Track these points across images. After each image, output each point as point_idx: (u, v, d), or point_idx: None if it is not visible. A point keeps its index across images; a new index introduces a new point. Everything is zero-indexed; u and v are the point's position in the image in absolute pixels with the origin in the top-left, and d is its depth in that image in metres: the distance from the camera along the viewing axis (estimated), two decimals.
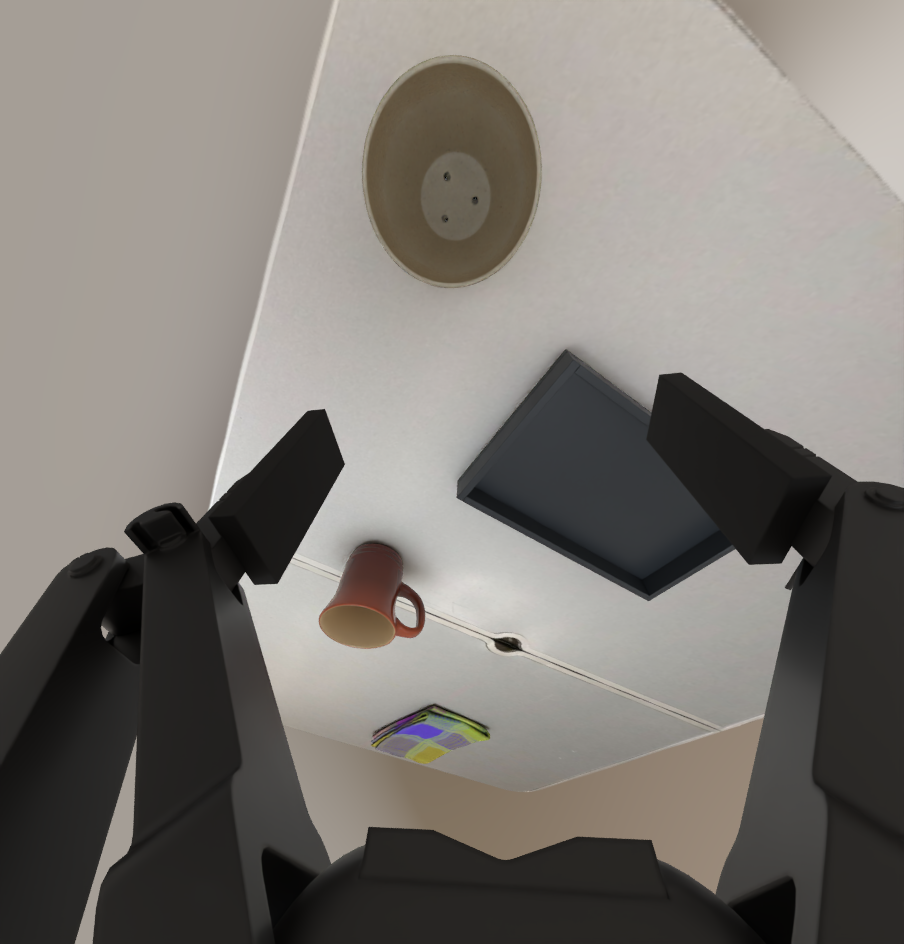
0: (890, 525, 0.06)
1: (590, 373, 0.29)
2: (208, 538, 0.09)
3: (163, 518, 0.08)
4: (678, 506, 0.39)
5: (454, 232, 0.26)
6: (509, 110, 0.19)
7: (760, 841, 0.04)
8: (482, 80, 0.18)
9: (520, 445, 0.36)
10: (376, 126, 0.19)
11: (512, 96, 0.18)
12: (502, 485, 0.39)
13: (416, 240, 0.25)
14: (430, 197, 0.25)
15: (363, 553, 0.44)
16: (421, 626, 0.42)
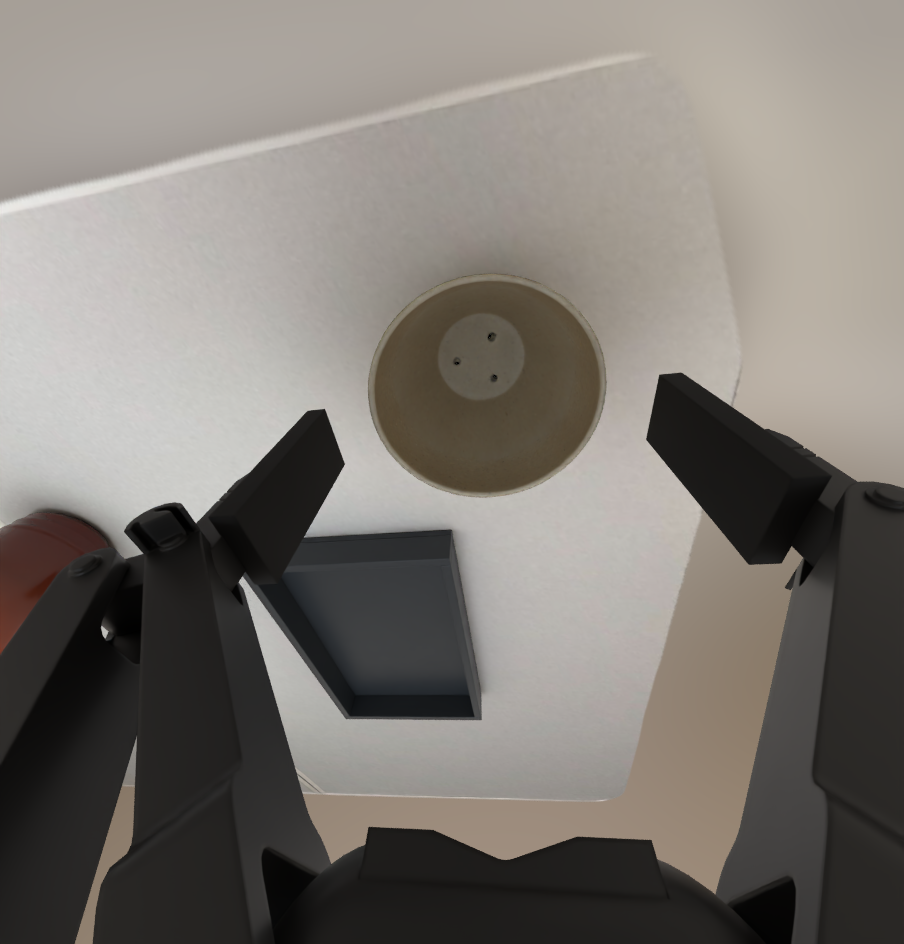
0: (890, 525, 0.06)
1: (451, 575, 0.28)
2: (208, 538, 0.09)
3: (163, 518, 0.08)
4: (426, 669, 0.42)
5: (453, 379, 0.21)
6: (582, 400, 0.16)
7: (760, 841, 0.04)
8: (590, 364, 0.15)
9: None
10: (474, 282, 0.13)
11: (595, 409, 0.15)
12: (300, 575, 0.33)
13: (413, 363, 0.18)
14: (462, 333, 0.20)
15: (49, 533, 0.28)
16: None
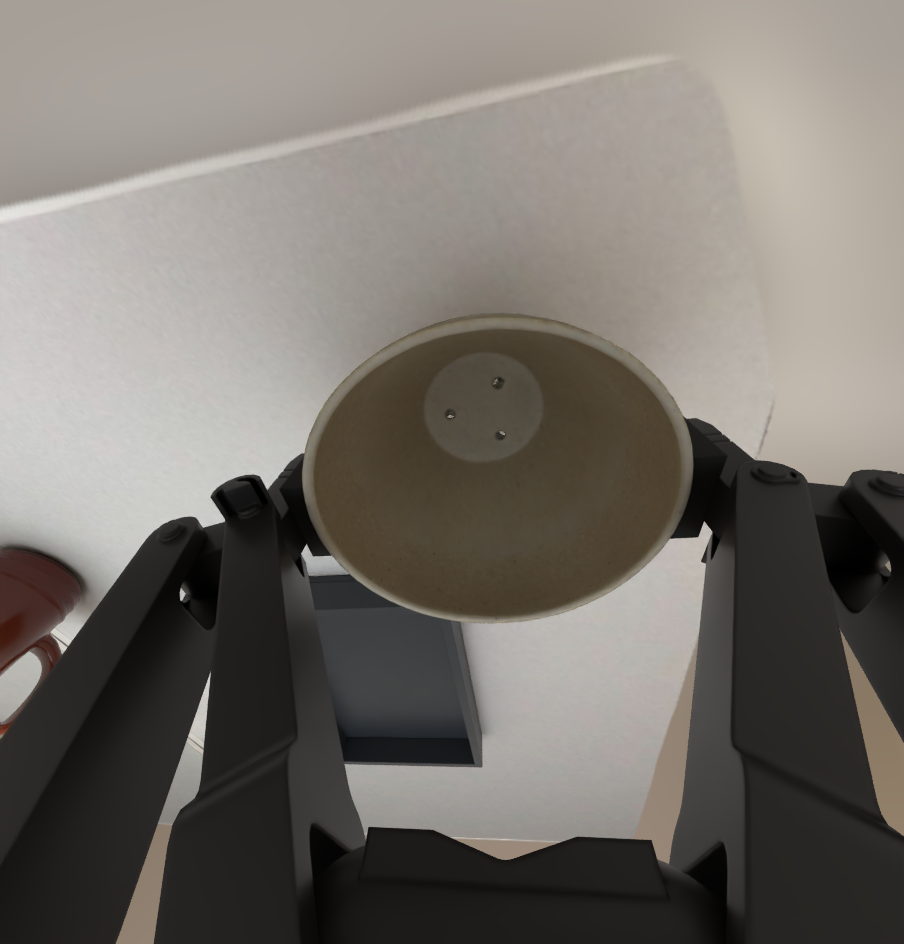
0: (772, 497, 0.07)
1: (449, 622, 0.25)
2: (276, 509, 0.10)
3: (243, 488, 0.09)
4: (422, 712, 0.39)
5: (445, 436, 0.16)
6: (639, 494, 0.11)
7: (698, 809, 0.05)
8: (660, 452, 0.09)
9: None
10: (474, 330, 0.07)
11: (666, 519, 0.09)
12: None
13: (386, 425, 0.13)
14: (457, 379, 0.14)
15: (9, 574, 0.26)
16: None
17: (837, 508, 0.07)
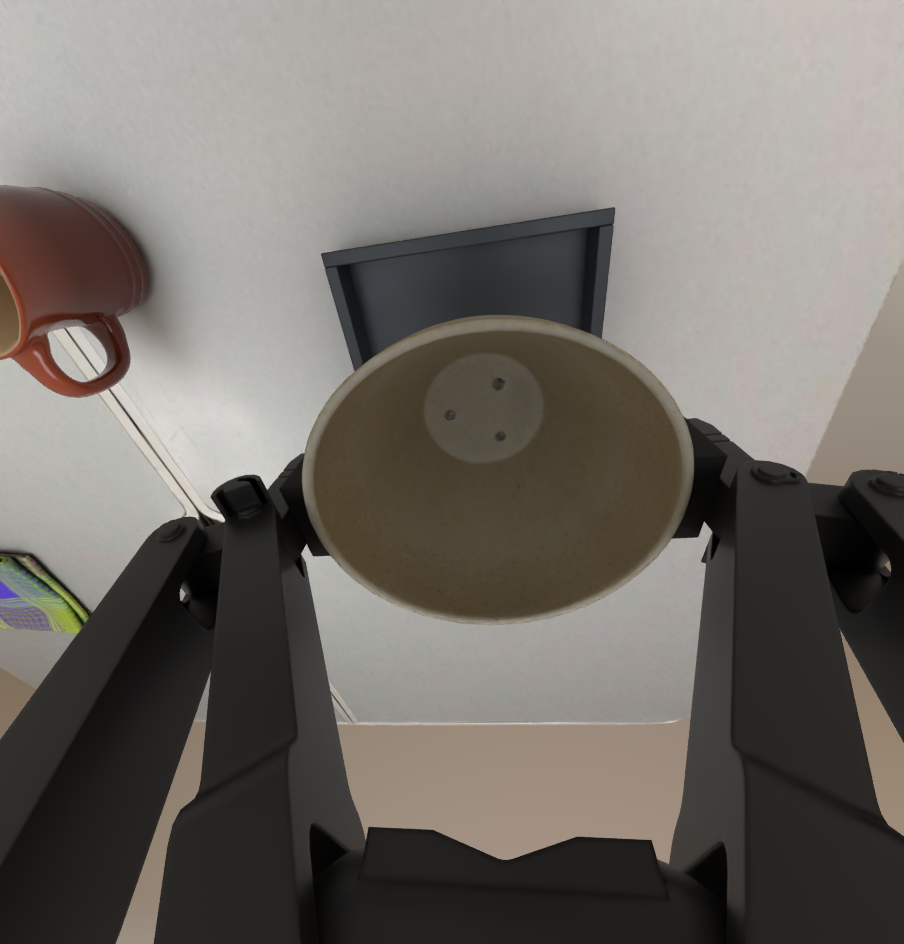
0: (772, 497, 0.07)
1: (609, 248, 0.21)
2: (277, 510, 0.10)
3: (243, 488, 0.09)
4: None
5: (445, 436, 0.16)
6: (639, 496, 0.11)
7: (698, 809, 0.05)
8: (661, 453, 0.09)
9: (453, 279, 0.24)
10: (475, 332, 0.07)
11: (667, 521, 0.09)
12: (387, 313, 0.26)
13: (386, 425, 0.13)
14: (457, 380, 0.14)
15: (74, 202, 0.21)
16: (89, 388, 0.22)
17: (836, 508, 0.07)
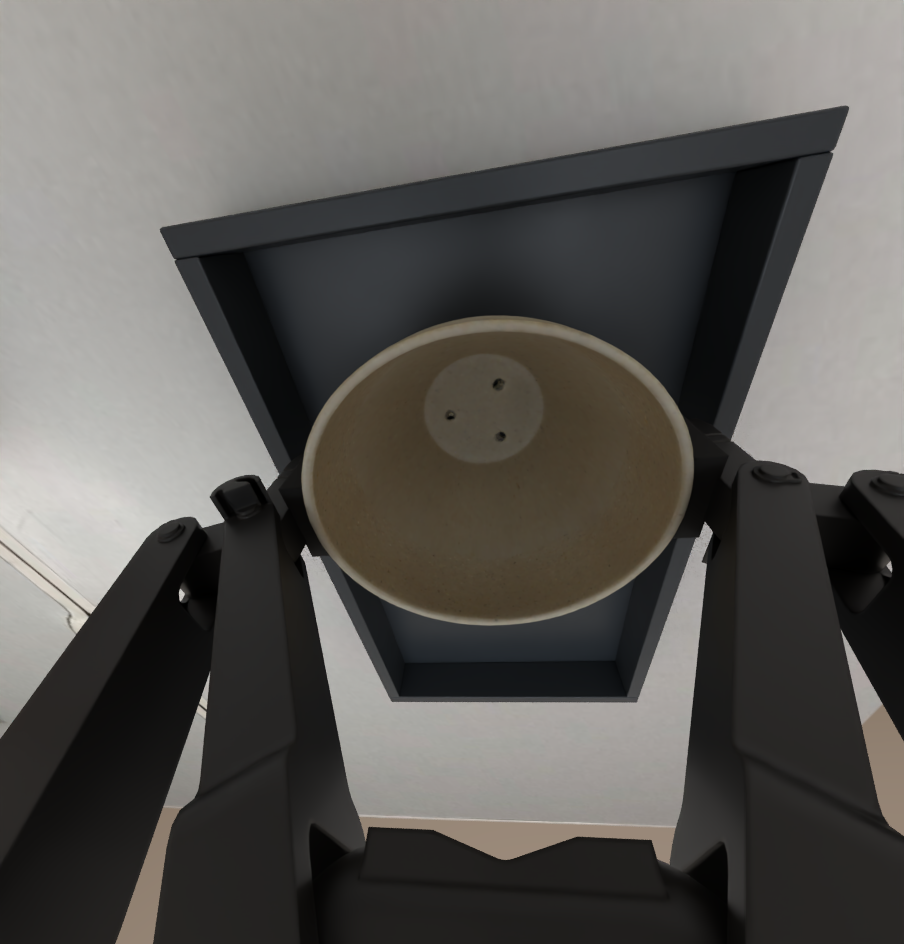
0: (773, 497, 0.07)
1: (809, 211, 0.09)
2: None
3: (242, 488, 0.09)
4: None
5: (445, 437, 0.16)
6: (639, 496, 0.11)
7: (698, 809, 0.05)
8: (661, 454, 0.09)
9: (448, 282, 0.13)
10: (474, 332, 0.07)
11: (667, 521, 0.09)
12: (327, 345, 0.14)
13: (386, 426, 0.13)
14: (457, 380, 0.14)
15: None
16: None
17: (838, 508, 0.07)
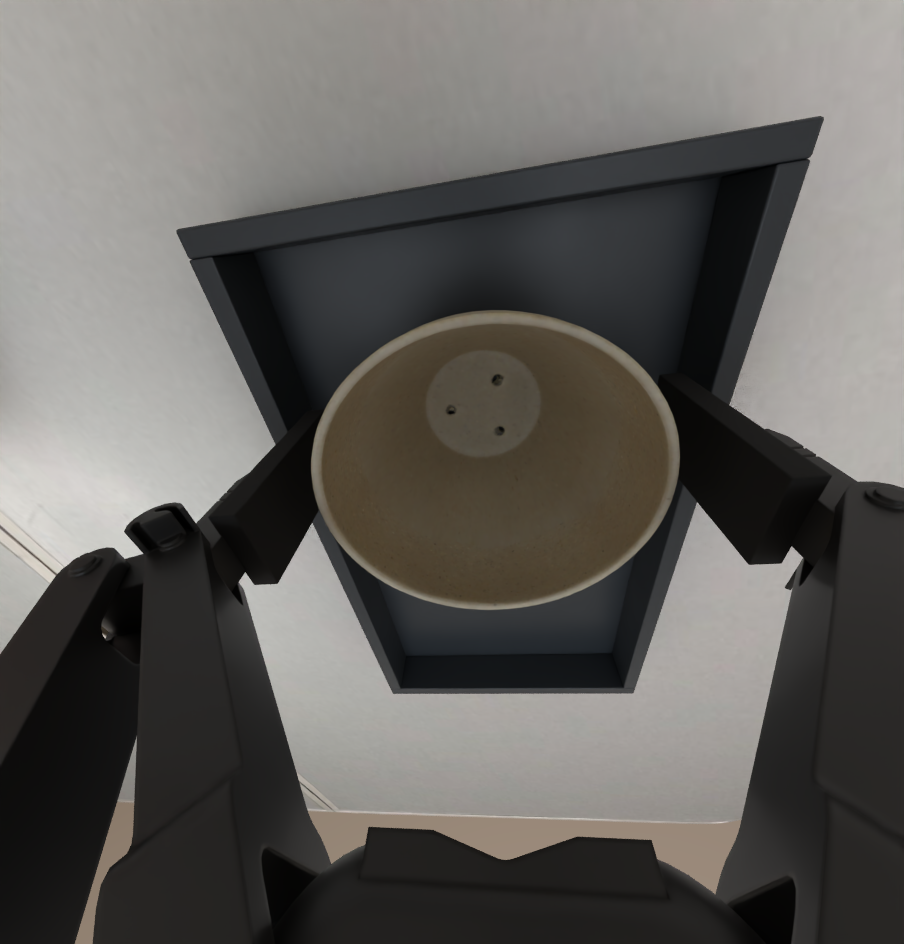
0: (890, 525, 0.06)
1: (789, 214, 0.10)
2: (208, 538, 0.09)
3: (163, 518, 0.08)
4: None
5: (446, 431, 0.16)
6: (631, 484, 0.11)
7: (760, 841, 0.04)
8: (650, 442, 0.10)
9: (449, 282, 0.13)
10: (473, 325, 0.08)
11: (656, 506, 0.10)
12: (332, 342, 0.15)
13: (390, 419, 0.13)
14: (457, 375, 0.15)
15: None
16: None
17: None
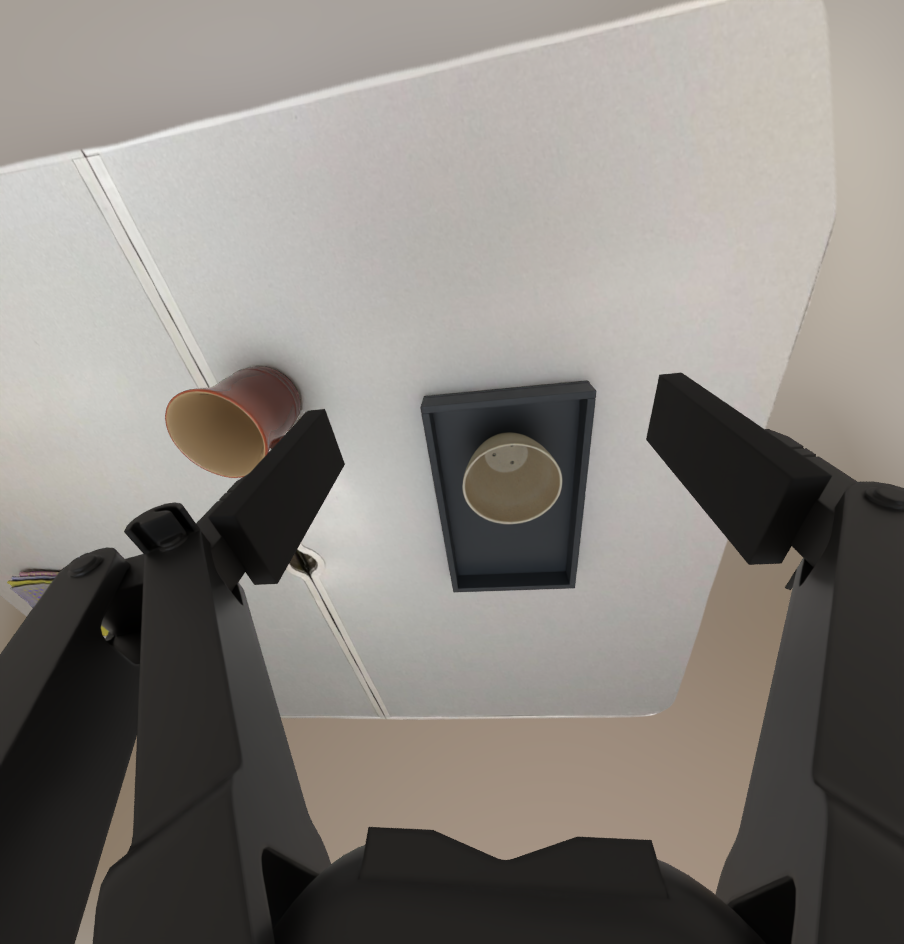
0: (890, 525, 0.06)
1: (593, 409, 0.35)
2: (208, 538, 0.09)
3: (163, 518, 0.08)
4: (530, 540, 0.49)
5: (491, 462, 0.42)
6: (553, 482, 0.37)
7: (760, 841, 0.04)
8: (556, 470, 0.35)
9: (496, 414, 0.39)
10: (510, 444, 0.33)
11: (558, 488, 0.36)
12: (452, 430, 0.40)
13: None
14: None
15: (273, 376, 0.36)
16: None
17: None
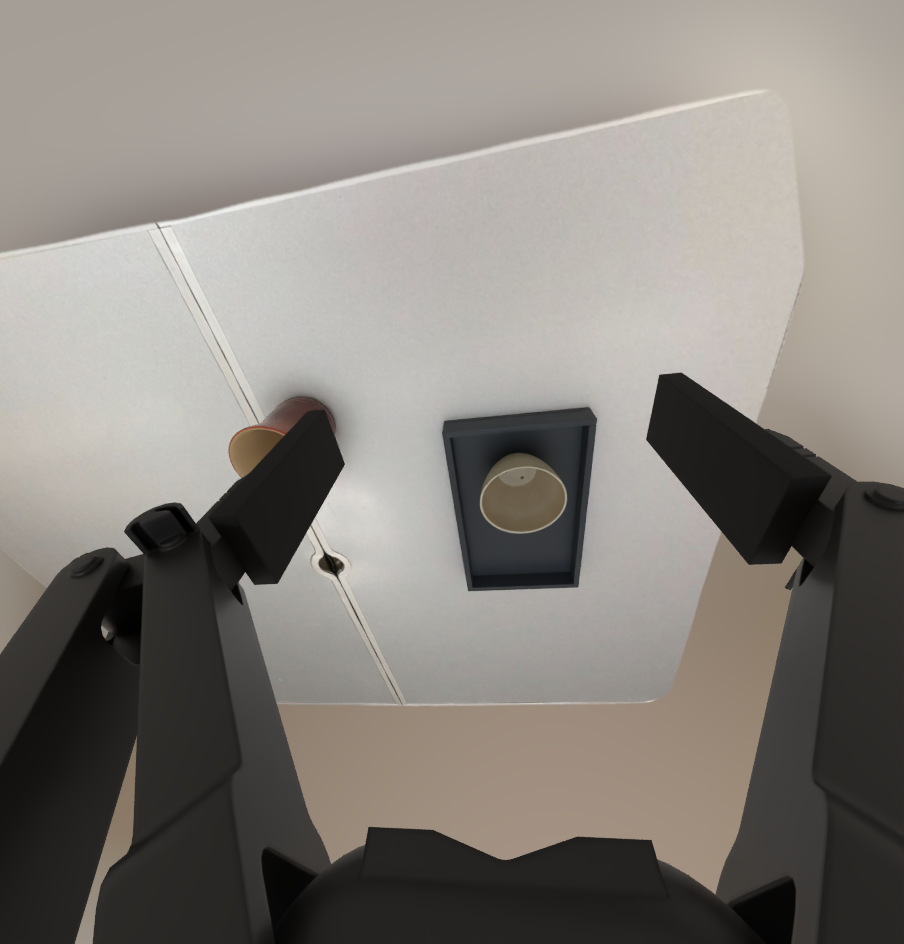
0: (890, 525, 0.06)
1: (594, 434, 0.40)
2: (208, 538, 0.09)
3: (163, 518, 0.08)
4: (538, 544, 0.54)
5: (503, 477, 0.47)
6: (559, 497, 0.42)
7: (760, 841, 0.04)
8: (561, 487, 0.40)
9: (508, 436, 0.44)
10: (522, 467, 0.38)
11: (563, 503, 0.41)
12: (469, 450, 0.45)
13: None
14: None
15: (314, 407, 0.41)
16: None
17: None
